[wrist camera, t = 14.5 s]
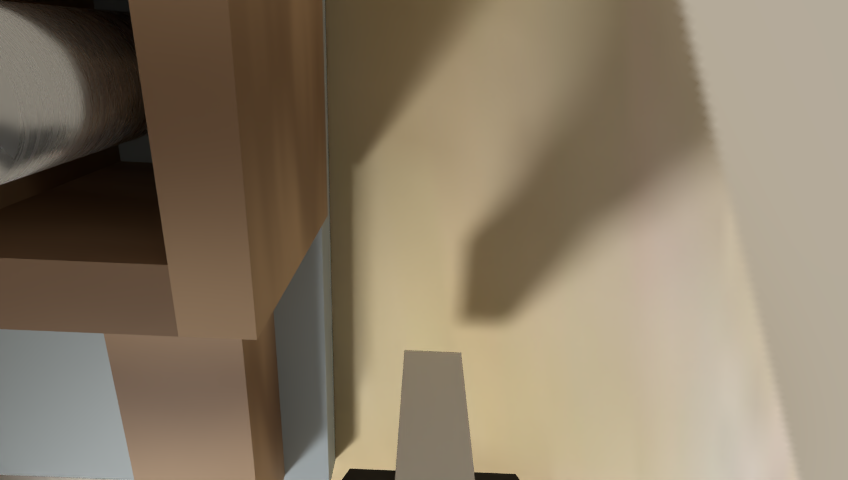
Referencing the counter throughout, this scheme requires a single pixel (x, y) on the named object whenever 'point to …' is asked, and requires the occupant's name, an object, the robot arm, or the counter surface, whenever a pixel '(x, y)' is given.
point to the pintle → (65, 85)
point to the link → (186, 232)
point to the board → (95, 392)
